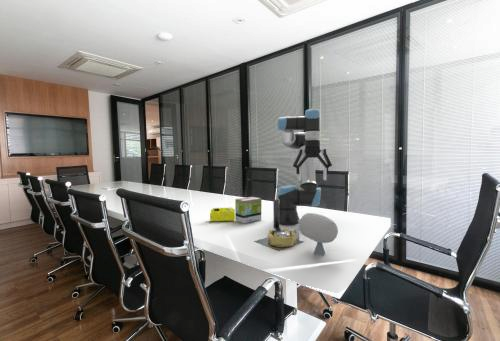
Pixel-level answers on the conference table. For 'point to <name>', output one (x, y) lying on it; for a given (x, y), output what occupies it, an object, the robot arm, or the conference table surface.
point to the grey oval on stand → (318, 230)
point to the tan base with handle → (275, 239)
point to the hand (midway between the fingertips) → (312, 180)
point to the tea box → (247, 209)
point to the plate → (265, 242)
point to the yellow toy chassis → (222, 214)
